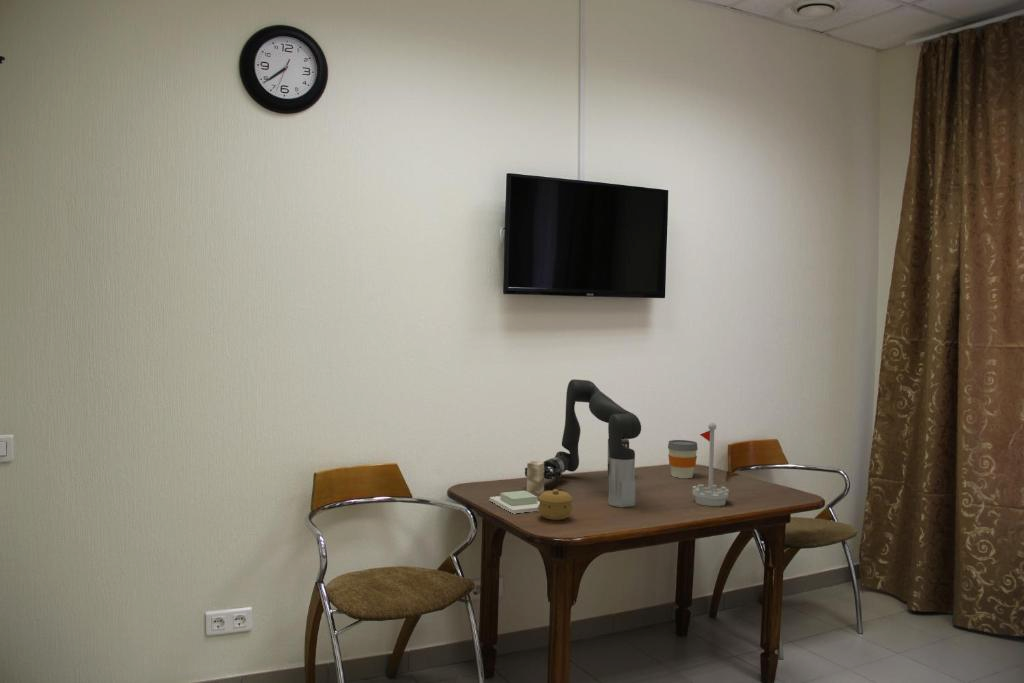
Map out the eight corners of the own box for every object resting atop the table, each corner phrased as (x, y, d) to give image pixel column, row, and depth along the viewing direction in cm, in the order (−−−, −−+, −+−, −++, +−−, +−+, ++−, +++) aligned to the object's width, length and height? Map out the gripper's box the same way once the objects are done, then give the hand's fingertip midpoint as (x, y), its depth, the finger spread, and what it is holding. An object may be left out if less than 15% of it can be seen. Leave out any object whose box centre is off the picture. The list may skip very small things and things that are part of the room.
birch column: (543, 493, 297) (544, 462, 297) (538, 496, 293) (539, 464, 292) (531, 491, 299) (532, 461, 299) (526, 494, 295) (527, 463, 294)
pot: (574, 523, 256) (575, 493, 255) (539, 523, 255) (540, 493, 254) (569, 513, 267) (570, 485, 267) (535, 514, 266) (536, 485, 266)
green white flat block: (548, 510, 271) (549, 499, 271) (513, 514, 265) (513, 502, 265) (523, 497, 289) (523, 487, 289) (489, 501, 283) (489, 490, 283)
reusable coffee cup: (663, 473, 338) (664, 439, 337) (691, 473, 339) (691, 439, 339) (672, 479, 325) (673, 444, 325) (701, 479, 327) (702, 444, 326)
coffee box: (628, 476, 332) (629, 439, 331) (629, 479, 325) (629, 441, 325) (606, 475, 332) (607, 438, 332) (607, 478, 326) (608, 440, 325)
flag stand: (734, 502, 287) (737, 423, 286) (716, 508, 278) (719, 426, 277) (703, 496, 296) (706, 419, 295) (685, 502, 287) (687, 422, 286)
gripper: (536, 457, 314) (520, 463, 299) (568, 460, 308) (554, 467, 293) (535, 475, 314) (519, 483, 300) (568, 479, 308) (553, 487, 294)
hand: (536, 475), depth 296 cm, fingers open, 8 cm apart
